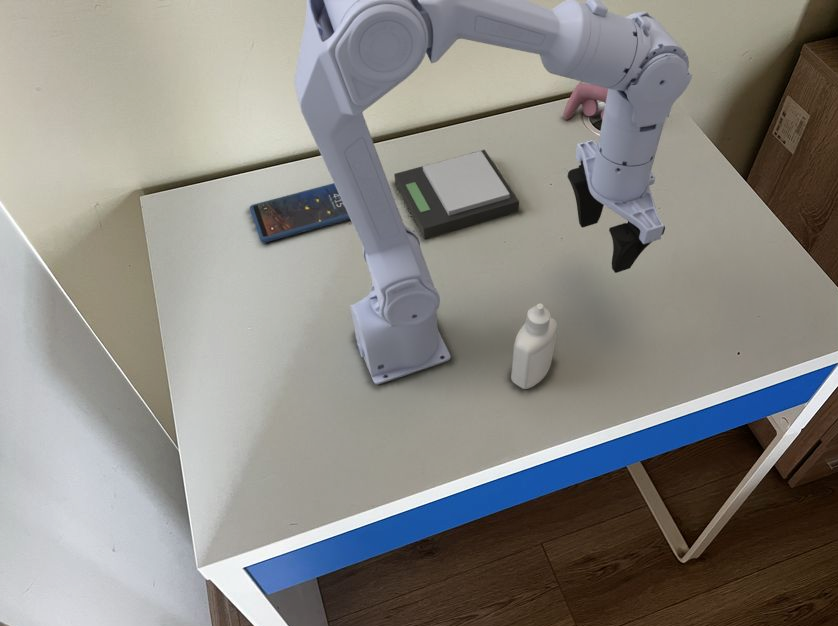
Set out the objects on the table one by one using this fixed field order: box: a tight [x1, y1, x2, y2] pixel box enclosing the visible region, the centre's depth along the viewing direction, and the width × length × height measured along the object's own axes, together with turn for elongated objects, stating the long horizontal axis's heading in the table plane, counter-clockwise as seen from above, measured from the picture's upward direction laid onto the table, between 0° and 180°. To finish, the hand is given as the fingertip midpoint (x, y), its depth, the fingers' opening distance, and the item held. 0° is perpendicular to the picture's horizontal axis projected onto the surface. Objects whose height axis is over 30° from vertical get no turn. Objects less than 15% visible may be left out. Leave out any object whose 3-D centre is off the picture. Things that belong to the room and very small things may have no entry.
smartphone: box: [249, 182, 351, 244], centre depth 97 cm, size 8×1×15 cm
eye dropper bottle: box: [510, 303, 558, 390], centre depth 77 cm, size 4×6×12 cm
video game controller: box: [563, 81, 608, 121], centre depth 108 cm, size 10×5×7 cm, turn 58°
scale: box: [393, 149, 520, 240], centre depth 98 cm, size 14×12×3 cm
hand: (604, 245), depth 80 cm, fingers open, 7 cm apart
